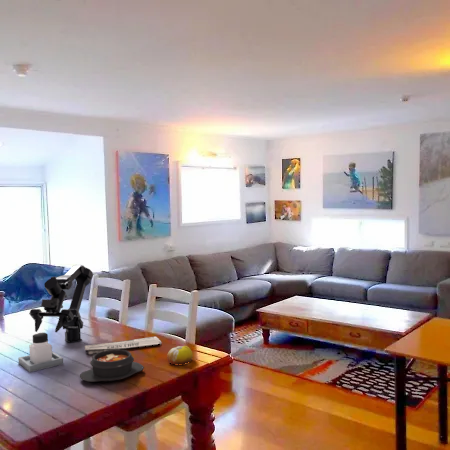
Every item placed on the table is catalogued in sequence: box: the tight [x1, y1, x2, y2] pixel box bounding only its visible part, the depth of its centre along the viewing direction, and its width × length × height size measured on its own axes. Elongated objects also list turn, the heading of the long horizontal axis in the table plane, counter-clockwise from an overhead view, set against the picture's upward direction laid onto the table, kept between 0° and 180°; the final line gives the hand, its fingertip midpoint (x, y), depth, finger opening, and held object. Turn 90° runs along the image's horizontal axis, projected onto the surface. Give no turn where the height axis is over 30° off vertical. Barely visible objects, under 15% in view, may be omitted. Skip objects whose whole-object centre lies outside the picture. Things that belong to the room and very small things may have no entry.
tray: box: [17, 350, 64, 373], centre depth 202 cm, size 14×14×2 cm
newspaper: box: [84, 336, 162, 356], centre depth 222 cm, size 35×12×4 cm, turn 114°
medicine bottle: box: [29, 332, 53, 364], centre depth 202 cm, size 7×7×12 cm
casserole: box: [79, 349, 144, 383], centre depth 187 cm, size 25×19×8 cm
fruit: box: [166, 345, 194, 366], centre depth 202 cm, size 11×10×8 cm
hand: (45, 331), depth 206 cm, fingers open, 9 cm apart
